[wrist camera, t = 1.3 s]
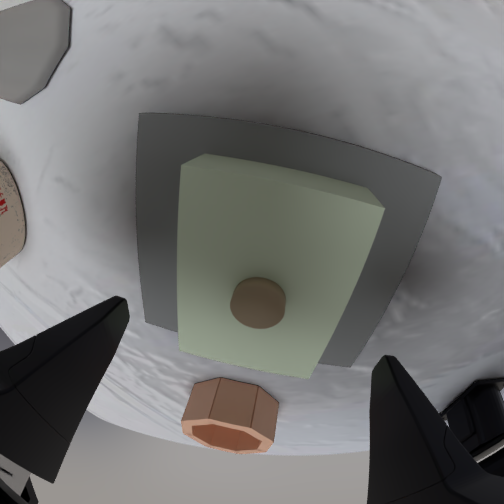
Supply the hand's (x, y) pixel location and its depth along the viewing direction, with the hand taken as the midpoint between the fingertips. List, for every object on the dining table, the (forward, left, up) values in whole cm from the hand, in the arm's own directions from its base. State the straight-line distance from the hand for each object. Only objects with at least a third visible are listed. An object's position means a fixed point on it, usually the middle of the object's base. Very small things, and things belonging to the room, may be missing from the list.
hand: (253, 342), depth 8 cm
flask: (+16, -11, -5) cm, 20 cm away
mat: (0, 0, -5) cm, 5 cm away
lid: (0, 0, -5) cm, 5 cm away
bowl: (0, +14, -5) cm, 15 cm away
